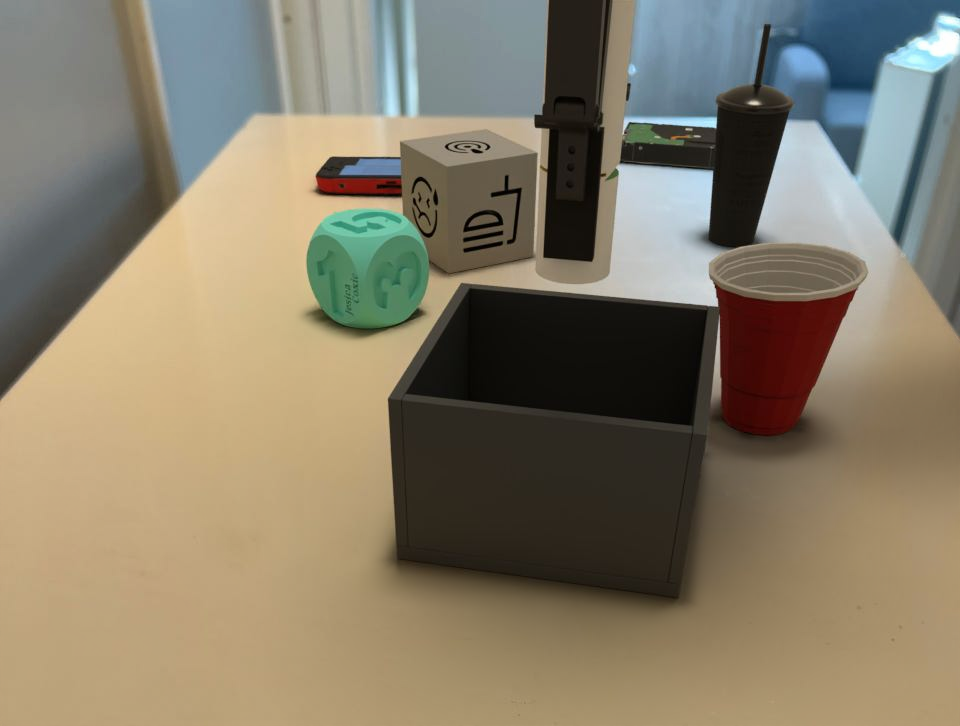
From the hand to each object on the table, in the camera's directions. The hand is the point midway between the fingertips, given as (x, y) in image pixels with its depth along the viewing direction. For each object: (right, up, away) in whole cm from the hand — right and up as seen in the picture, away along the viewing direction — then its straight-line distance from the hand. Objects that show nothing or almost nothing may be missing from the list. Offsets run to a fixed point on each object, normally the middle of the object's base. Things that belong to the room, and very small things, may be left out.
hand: (575, 241), depth 56 cm
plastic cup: (+16, -5, +21) cm, 27 cm away
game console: (-18, +34, +66) cm, 77 cm away
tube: (0, -1, +1) cm, 2 cm away
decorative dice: (-15, +8, +36) cm, 40 cm away
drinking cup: (+22, +21, +51) cm, 60 cm away
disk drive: (+21, +42, +76) cm, 89 cm away
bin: (0, -13, +11) cm, 17 cm away
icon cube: (-7, +18, +48) cm, 52 cm away
